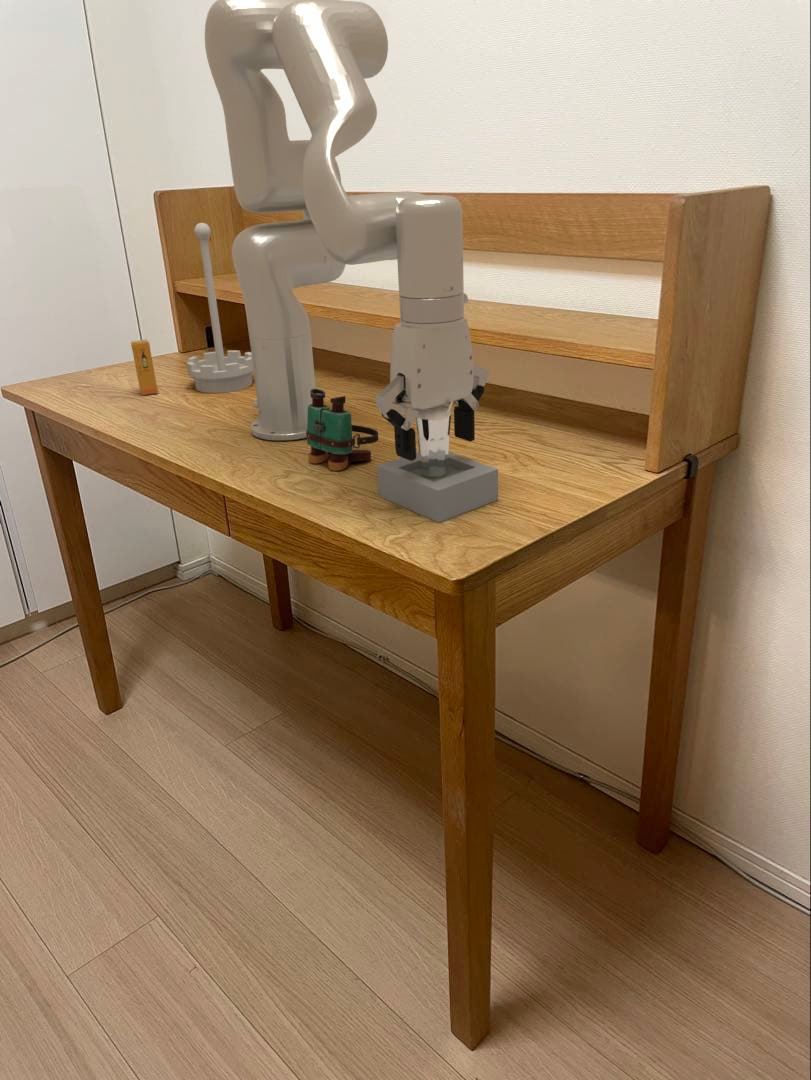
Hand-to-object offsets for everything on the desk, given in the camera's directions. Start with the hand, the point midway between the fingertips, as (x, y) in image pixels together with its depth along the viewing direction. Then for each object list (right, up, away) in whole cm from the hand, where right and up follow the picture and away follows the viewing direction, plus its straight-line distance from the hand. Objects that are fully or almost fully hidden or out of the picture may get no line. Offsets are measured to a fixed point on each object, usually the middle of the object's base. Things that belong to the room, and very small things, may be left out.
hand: (436, 448), depth 106 cm
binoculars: (-13, 0, +18) cm, 22 cm away
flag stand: (-39, +19, +59) cm, 74 cm away
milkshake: (0, -3, +2) cm, 4 cm away
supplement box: (-53, +17, +57) cm, 79 cm away
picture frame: (0, -6, +3) cm, 7 cm away
